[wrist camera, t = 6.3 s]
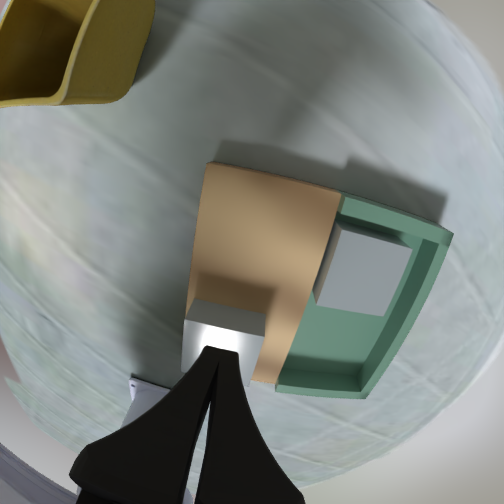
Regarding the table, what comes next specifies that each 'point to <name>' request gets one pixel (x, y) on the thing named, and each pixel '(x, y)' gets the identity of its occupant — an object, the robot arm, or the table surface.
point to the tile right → (360, 269)
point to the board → (260, 250)
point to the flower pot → (71, 50)
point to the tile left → (223, 334)
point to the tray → (359, 324)
